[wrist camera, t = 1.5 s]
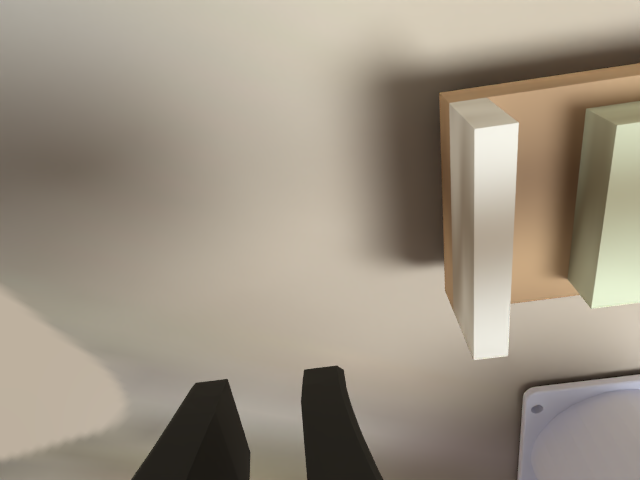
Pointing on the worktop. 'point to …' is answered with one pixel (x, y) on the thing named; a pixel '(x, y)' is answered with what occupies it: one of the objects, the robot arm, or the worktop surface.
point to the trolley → (540, 197)
